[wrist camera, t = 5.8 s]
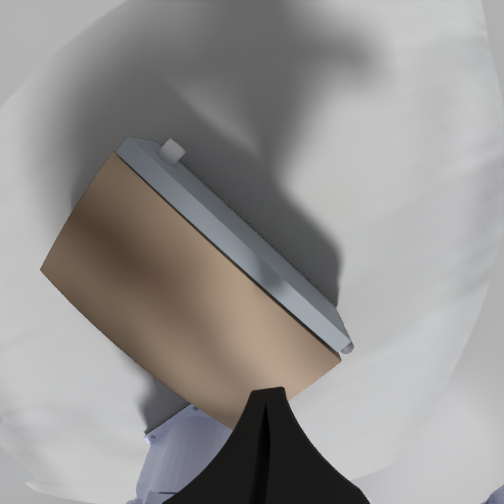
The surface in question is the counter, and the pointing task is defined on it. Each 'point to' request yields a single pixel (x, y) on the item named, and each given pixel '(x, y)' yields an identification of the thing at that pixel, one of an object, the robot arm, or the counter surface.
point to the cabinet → (178, 299)
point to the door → (234, 236)
